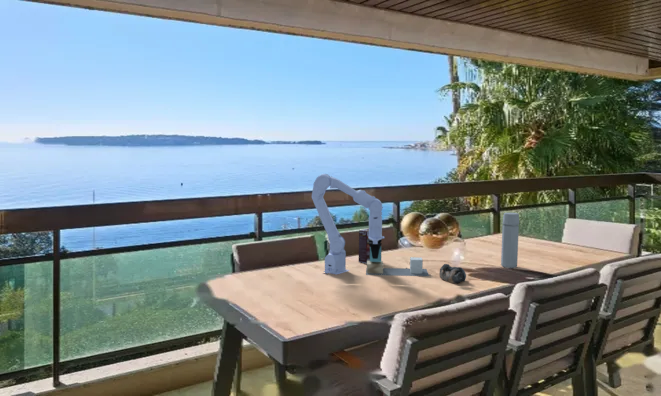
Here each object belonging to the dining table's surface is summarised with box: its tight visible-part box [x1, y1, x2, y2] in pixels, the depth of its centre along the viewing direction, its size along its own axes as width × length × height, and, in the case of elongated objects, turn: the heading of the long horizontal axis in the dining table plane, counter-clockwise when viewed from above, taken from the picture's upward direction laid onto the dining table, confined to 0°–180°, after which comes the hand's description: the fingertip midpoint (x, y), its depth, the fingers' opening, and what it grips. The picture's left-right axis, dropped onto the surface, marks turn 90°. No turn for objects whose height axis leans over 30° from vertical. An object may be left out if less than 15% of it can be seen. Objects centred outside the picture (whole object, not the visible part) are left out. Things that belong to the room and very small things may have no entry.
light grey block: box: [409, 256, 424, 274], centre depth 222 cm, size 5×5×6 cm
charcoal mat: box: [365, 267, 430, 277], centre depth 223 cm, size 27×13×1 cm, turn 85°
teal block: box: [370, 246, 382, 262], centre depth 223 cm, size 5×5×6 cm
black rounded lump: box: [439, 263, 467, 285], centre depth 208 cm, size 12×7×10 cm
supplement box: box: [358, 227, 370, 264], centre depth 243 cm, size 9×5×16 cm, turn 143°
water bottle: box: [500, 212, 520, 269], centre depth 234 cm, size 9×8×25 cm
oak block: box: [366, 260, 384, 274], centre depth 223 cm, size 7×7×4 cm
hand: (375, 257), depth 223 cm, fingers closed on teal block, 5 cm apart
